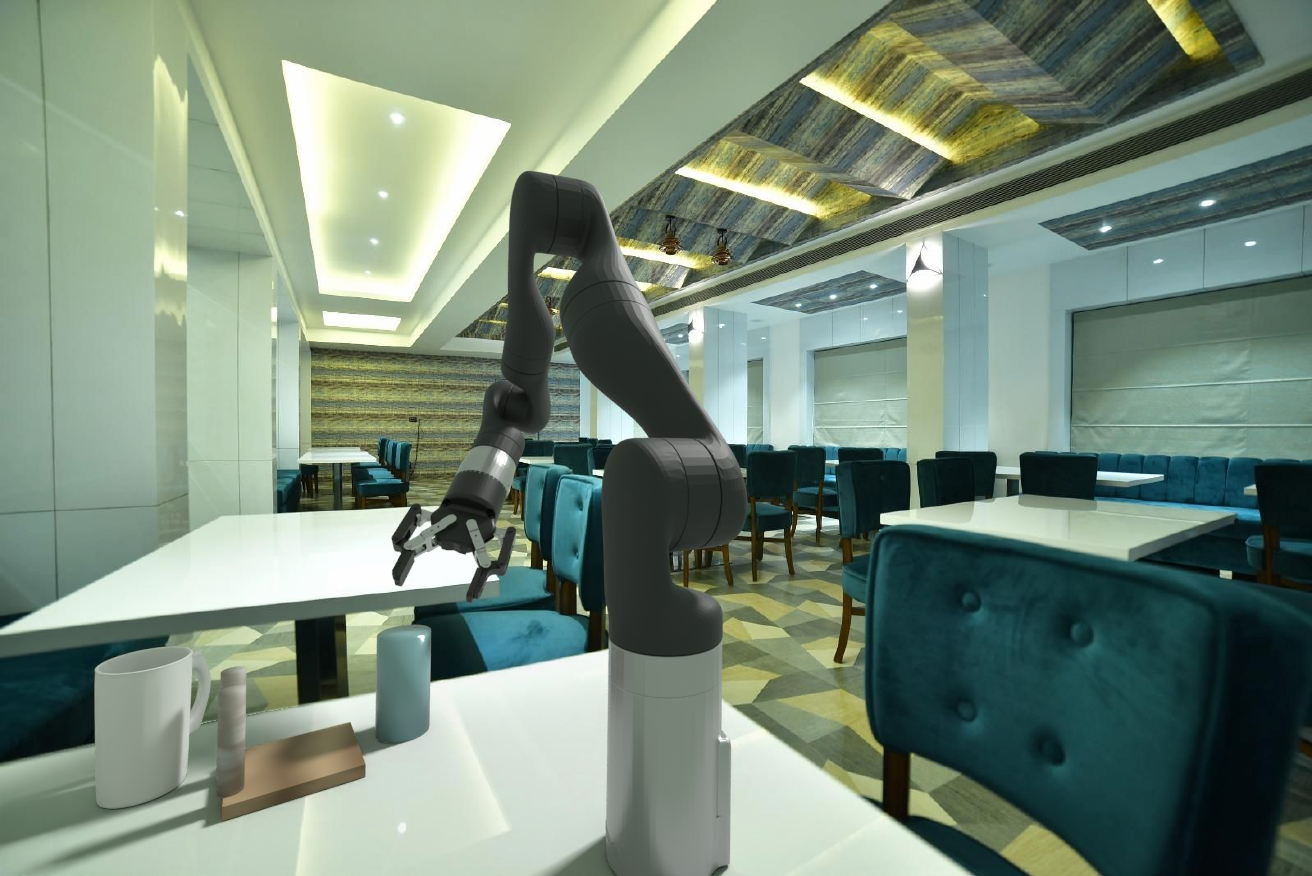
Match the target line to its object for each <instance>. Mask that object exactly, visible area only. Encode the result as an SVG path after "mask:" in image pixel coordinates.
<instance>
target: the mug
mask: <svg viewBox="0 0 1312 876" xmlns="http://www.w3.org/2000/svg"><path fill="white" fill-rule="evenodd" d="M193 672H194V674H195V675H196V677H197V683H198V684H197V691H196V692H197V693H196V696H195V700H194V703H193V705H192V707H191V704H192V703H191V701H192V700H191V699H192V682H193V681H192V679H193ZM211 679H212V677H211V671H210V668H209V665H208V662H207V660H206V659H205V656H204V651H203V649H194V650H193V649H192V648H190V647H187V646H182V645H181V646H180V645H179V646H178V645H177V646H176V645H174V646H170V645H169V646H160V647H152V648H148V649H141V650H136V651H132V652H128V653H125V654H122V655H118V656H116V657H112V658H110V659H107V660H105V661H103V662H101V663H100V664H98V665H97V666H96V667H95V668H94V747H95V750H94V751H95V752H94V755H95V756H94V771H95V772H94V773H95V777H94V778H95V781H94V782H95V801H96V804H97V806H99V807H101V808H104V809H111V810H114V809H115V810H116V809H123V808H130V807H133V806H138V805H140V804H144V803H148V802H149V801H153V800H155V799H158V798H159V797H162V796H164V795H167V794H168V793H169V792H171V791H173V790H175V789H176V788H177V787H179V786H180V785H181V784H182V783H183V782H184V780H186V777H187V775H188V764H189V762H188V761H189V747H190V745H189V744H190V743H189V741H190V735H191V734H192V733H194V732H196V731H198V730H199V729H200V728H201V726H202V723H203V719H204V717H205V712H206V709H207V705H208V703H209V697H210V692H211V687H212V686H211V683H212V680H211Z"/></svg>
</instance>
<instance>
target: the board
mask: <svg viewBox="0 0 1312 876" xmlns="http://www.w3.org/2000/svg"><path fill="white" fill-rule="evenodd" d="M219 684H220V685H219V687H220V690H219V691H218V692H217V736H216V737H217V739H216V740H217V743H216V789H215V790H216V793H215V794H216V798H220V799H222V805H221V806H222V811H221V816H222V817H221V822H224V821H227V820H230V819H234V818H237V817H241V816H243V815H246V814H249V813H252V812H255V811H259V810H262V809H263V810H264V809H265V808H269V807H272V806H275V805H278V804H283V803H284V802H288V801H292V800H295V799H298V798H301V797H304V796H307V795H311V794H314V793H317V792H320V791H325V790H326V789H330V788H334V787H336V786H339V785H342V784H346V783H349V782H351V781H352V782H353V781H356V780H359V779H362V778H365V777H366V769H367V768H366V767H367V766H366V765H367V764H366V761H365V759H364V756H363V753H362V750H361V747H360V745H359V742H358V739H357V736H356V733H355V731H354V728H353V725H352V723H351V721H349V722H344V723H340V724H337V725H333V726H329V727H325V728H321V729H317V730H313V731H309V732H306V733H300V734H297V735H293V736H289V737H285V738H281V739H278V740H273V741H269V742H266V743H263V744H262V743H261V744H259V745H254V746H250V747H247V748H246V726H247V725H246V723H247V722H246V719H247V718H246V717H247V714H246V712H247V711H246V710H247V667H246V666H243V665H241V666H237V665H236V666H233V667H228V668H225V669H223V670H222V671H220V683H219Z"/></svg>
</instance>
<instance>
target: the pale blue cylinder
mask: <svg viewBox="0 0 1312 876" xmlns="http://www.w3.org/2000/svg"><path fill="white" fill-rule="evenodd" d="M431 651H432V628H431V627H429V626H427V625H423V624H405V625H398V626H393V627H389V628H386V629H384V630H382V631H380V632H379V633H377V635H376V668H375V670H376V671H375V672H376V673H375V727H374V733H375V735H374V737H375V739H376V740H377V741H378V742H380V743H383V744H391V745H392V744H393V745H394V744H402V743H406V742H411V741H413V740H416V739H417V738H420V737H421V736H424V735H425V734H426V733H427V732H428V731H429V729H430V726H431V725H430V719H431V717H430V716H431V715H430V714H431V713H430V712H431V659H432V658H431V656H432V653H431Z"/></svg>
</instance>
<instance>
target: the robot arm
mask: <svg viewBox="0 0 1312 876" xmlns="http://www.w3.org/2000/svg"><path fill="white" fill-rule="evenodd" d="M512 189H513V191H512V192H511V193H512V195H511V200H510V205H509V206H510V207H509V218H508V220H509V221H508V251H507V252H508V255H507V256H508V257H507V315H506V316H507V319H506V326H505V327H506V328H505V335H504V339H503V340H504V342H503V348H502V352H501V354H502V355H501V361H500V371H501V374H502V376H503V377H504V378H505V379H506V380H503V379H502V380H497V381H494V382H493V383H491V384H490V385H489V386H488V387H487V388H486V390H485V393H484V396H483V401H482V416H481V421H480V422H481V423H480V427H479V430H478V433H477V435H476V437H475V439H474V442H473V443H472V445H471V447H470V449H469V451H468V453H467V454H466V456H465V457H464V459H463V460H462V462H461V463H460V465H459V467H458V469H457V471H456V472H455V475H454V476H453V479H452V481H451V483H450V485H449V487H448V489H447V491H446V493H445V495H444V497H443V498H442V501H441V503H440V505H439V507H438V508H437V509H435V510H433V511H430V510H427V509H423V508H422V505H421V504H420V503H413V504H411V506H410V507H409V509H408V510H407V512H406V514H405V515H404V516H403V518H402V520H401V521H400V523H399V524H398V526H397V528H395V529H396V530H395V531H394V532H393V534H392V535H391V543H392V546H393V547H392V548H393V550H394V552H396V553H400V554H399V556H398V559H397V560H396V562H395V564H394V566H393V567H392V570H391V576H392V579H393V581H394V584H395V586H398V587H403V585H404V583H405V582H406V579H407V577H408V576H409V573H410V572H411V570H412V568H413V565H414V564H415V561H416V560H415V559H416V558H418V557H420V556H421V555H422V554H424V553H429V552H432V551H433V550H435V549H437V548H438V547H440V548H441V550H444V551H454V552H456V553H458V554H461V555H465V556H466V555H467V554H470V553H472V556H473V559H474V562H475V564H476V565H477V567H476V570H475V571H474V574H473V577H472V579H471V582H470V584H469V587H468V589H467V592H466V595H465V602H466V603H470V604H473V602H474V600H479V599H480V597H482V594H483V591H484V589H485V586H486V584H487V581H488V579H489V577H491V576H495V575H496V576H499V577H504V576H505V575H506V574H507V570H508V567H509V564H510V560H511V557H512V554H513V550H514V547H515V542H516V539H517V528H516V527H515V526H508V527H507V528H502V527H497V522H498V519H499V517H500V515H501V512H502V509H503V507H504V504H505V502H506V499H507V497H508V496H509V495H510V493H511V492H510V491H511V487H512V486H513V485H512V484H513V481H514V478H515V473H516V470H517V468H518V465H519V463H520V460H521V459H522V458H521V457H522V456H523V454H524V453H523V452H524V450H525V446H526V441H525V437H524V435H523V433H526V434H532V435H533V434H538V433H540V432H541V431H543V430H544V429H545V428H546V426H547V425H548V423H549V422H550V419H551V412H552V407H551V406H552V404H551V396H550V394H551V393H550V390H549V389H550V388H549V371H550V364H551V362H552V357H553V351H554V347H555V341H556V332H555V331H556V330H555V325H554V321H553V317H552V316H551V313H550V311H549V308H548V307H547V305H546V304H547V303H546V302H545V300H544V298H543V295H542V294H541V291H540V289H539V286H538V283H537V280H536V276H535V270H534V269H535V267H534V266H535V265H534V264H535V263H534V262H535V256H536V254H545V255H553V256H560V257H561V256H562V257H567V258H574V259H576V260H577V261H579V262H580V263H581V265H580V266H579V268H578V269H577V270H576V272H574V274H573V275H572V277H571V278H570V280H569V282H568V283H567V285H566V287H565V289H564V290H563V294H562V296H561V299H560V303H559V319H560V324H561V327H562V330H563V334H564V336H565V339H566V342H567V344H568V348H569V350H570V354H571V356H572V359H573V361H574V363H575V365H576V366H577V368H578V369H579V371H580V372H581V374H582V375H583V376H584V377H585V378H586V379H587V380H588V381H589V382H590V383H591V384H592V385H593V386H594V387H595V388H596V389H597V390H598V391H599V392H600V393H602V394H603V395H604V396H605V397H607V399H609V400H610V401H612V402H613V403H614V405H616V406H617V407H619V408H620V409H621V410H622V411H623V412H625V413H626V415H628V416H629V417H630V418H631V419H633V420H634V421H635V422H636V424H637V425H638V426H639V427H640V428H641V429H642V430H643V431H644V433H645V434H646V435H647V437H631V438H630V437H629V438H626V439H623V440H621V441H619V442H618V443H616V445H614V446H613V448H612V449H611V450H610V452H609V454H608V455H607V459H606V462H605V464H604V469H603V472H602V473H603V474H602V480H601V493H600V494H601V496H600V497H601V522H602V523H601V524H602V525H601V527H602V528H601V529H602V544H603V545H602V546H603V547H602V549H603V581H604V582H603V583H604V584H603V586H604V587H603V589H604V597H605V604H606V609H607V610H606V611H607V617H608V660H607V661H608V662H607V663H608V667H607V668H608V669H607V670H608V671H607V673H608V674H607V675H608V677H607V679H608V681H607V731H606V732H607V735H606V736H607V740H606V742H607V743H606V746H607V747H606V750H607V751H606V796H605V797H606V800H605V801H606V805H605V807H606V809H605V810H606V815H605V852H606V853H605V855H606V859H607V862H608V864H609V867H610V869H611V870H612V871H613V872H614V874H615V875H616V876H712V875H713V874H714V873H715V871H716V870H717V869H718V868H720V867H724V866H728V865H730V863H731V813H732V812H731V810H732V809H731V808H732V807H731V805H732V803H731V802H732V800H731V799H732V798H731V796H732V795H731V794H732V793H731V791H732V787H731V786H732V744H731V743H732V742H731V740H730V738H729V737H728V736H727V735H726V733H725V732H724V731H723V729H722V728H723V727H722V726H723V725H722V722H723V721H722V720H723V716H722V715H723V708H722V707H723V706H722V705H723V634H724V632H723V631H724V628H723V627H724V623H723V622H724V618H723V617H724V615H723V610H722V607H721V604H720V602H719V601H718V600H717V599H716V598H715V597H713V596H711V595H710V594H708V593H706V592H704V591H700V590H698V589H694V588H690V587H687V586H684V585H683V586H682V585H679V584H676V583H675V582H673V579H672V574H671V566H670V564H671V563H670V553H677V552H683V551H684V552H685V551H695V550H703V549H709V548H710V549H711V548H715V547H720V546H723V545H726V544H729V543H731V542H732V541H733V540H735V539H736V538H737V537H738V536H739V535H740V533H741V532H742V530H743V529H744V527H745V524H746V520H747V515H748V514H747V513H748V508H749V507H748V491H747V487H746V483H745V478H744V475H743V473H742V470H741V466H740V465H739V462H738V460H737V458H736V456H735V454H734V452H733V450H732V449H731V447H730V445H729V444H728V442H727V441H726V439H725V437H724V436H723V435H722V433H721V431H720V429H718V427H717V425H716V424H715V422H714V421H713V420H712V418H711V416H710V415H709V413H708V412H707V410H706V409H705V408H704V406H703V405H702V403H701V402H700V400H699V399H698V397H697V396H696V394H695V392H694V391H693V389H692V388H691V386H690V385H689V383H688V381H687V380H686V378H685V376H684V374H683V372H682V370H681V368H680V367H679V364H678V363H677V361H676V359H675V357H674V355H673V354H672V351H671V349H670V348H669V346H668V344H667V343H666V341H665V339H664V336H663V334H662V331H661V329H660V327H659V325H658V322H657V321H656V318H655V316H654V314H653V311H652V309H651V307H650V305H649V304H648V301H647V300H646V298H645V296H644V294H643V292H642V290H641V289H640V287H639V286H638V283H637V281H636V280H635V278H634V276H633V274H632V272H631V269H630V267H629V265H628V262H627V261H626V258H625V256H624V254H623V252H622V249H621V248H620V247H621V246H620V244H619V242H618V238H617V236H616V232H615V230H614V227H613V223H612V220H611V217H610V214H609V212H608V208H607V205H606V203H605V201H604V197H603V196H602V194H601V192H600V190H598V188H597V187H596V186H595V185H594V184H592V183H590V182H588V181H585V180H582V179H578V178H573V177H569V176H563V175H557V174H552V173H547V172H543V171H542V172H541V171H537V170H536V171H533V170H526V171H523V172H522V173H521V174H519V176H518V177H517V179H516V181H515V182H514V186H513V188H512ZM427 522H428V523H429V522H430V526H428V527H427V528H425V529H423V530H422V531H421V532H420V533H419V534H418V535H417V536H415V537H413V538H412V536H413V534H414V533H415V531H416V529H417V528H420V527H422V526H423V525H424V524H425V523H427ZM494 538H496V539H497V540H498V541H497V543H498V545H499V546H501V547H500V551H499V554H498V557H497V560H496V559H495V560H491V559H490V556H489V554H488V551H487V547H486V544H488V543H489V542H490V541H492V540H493V539H494Z"/></svg>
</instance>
